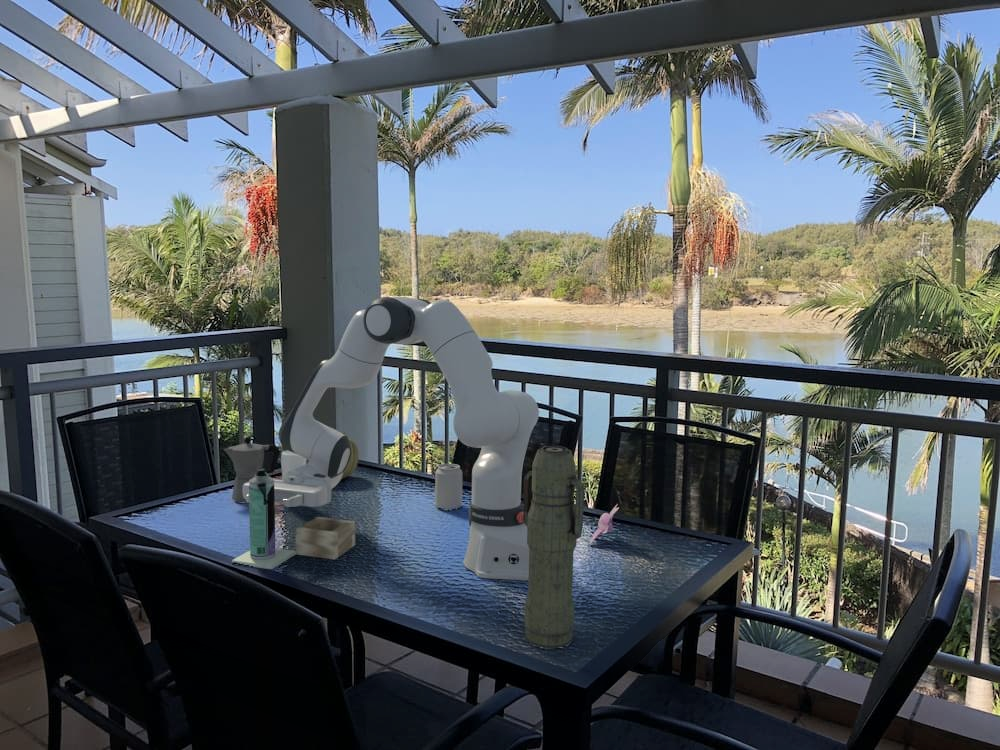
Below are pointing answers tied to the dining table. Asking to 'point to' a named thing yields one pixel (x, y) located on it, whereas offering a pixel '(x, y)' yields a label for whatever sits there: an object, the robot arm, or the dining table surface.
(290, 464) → the drinking glass
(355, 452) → the cantaloupe
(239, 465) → the coffeepot
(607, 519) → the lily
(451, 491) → the can
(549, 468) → the olive green cylinder
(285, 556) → the sage pad
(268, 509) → the spray can
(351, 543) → the can holder
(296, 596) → the dining table surface
